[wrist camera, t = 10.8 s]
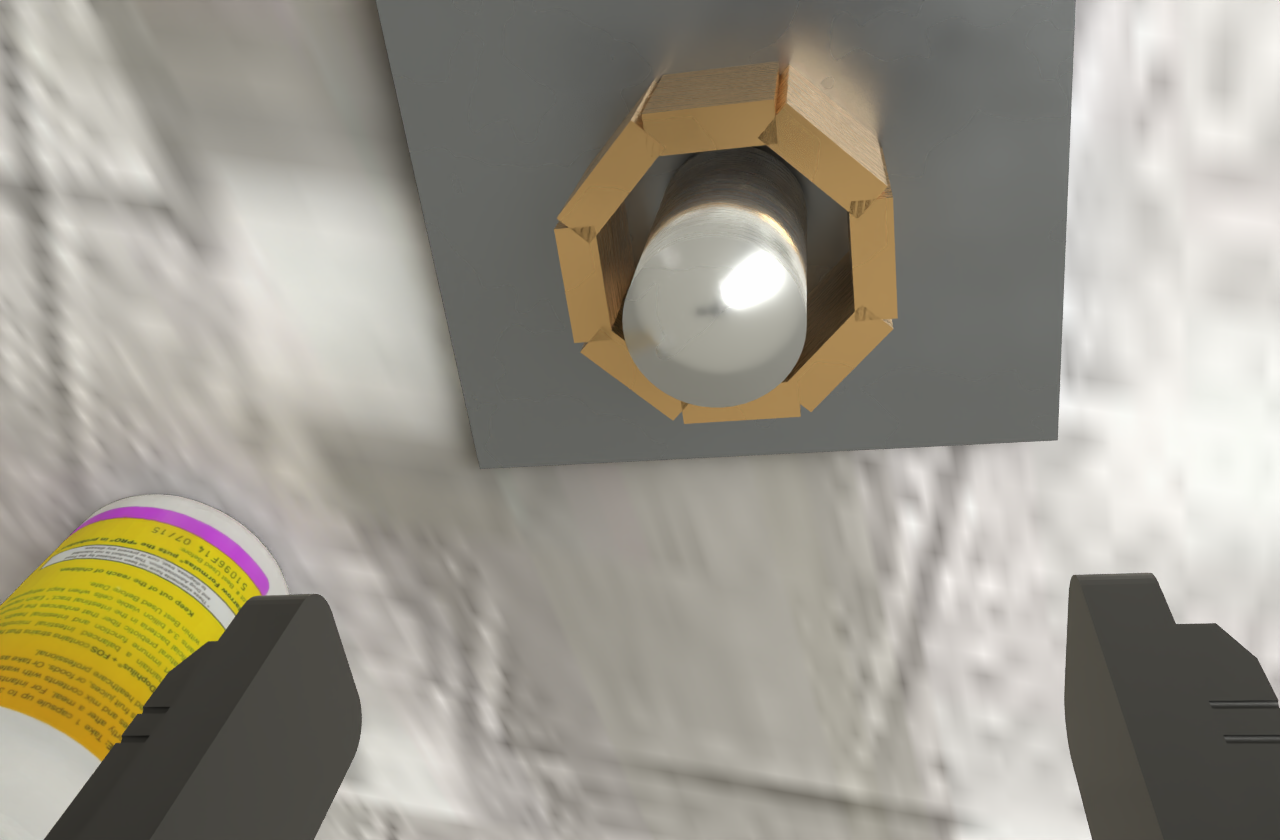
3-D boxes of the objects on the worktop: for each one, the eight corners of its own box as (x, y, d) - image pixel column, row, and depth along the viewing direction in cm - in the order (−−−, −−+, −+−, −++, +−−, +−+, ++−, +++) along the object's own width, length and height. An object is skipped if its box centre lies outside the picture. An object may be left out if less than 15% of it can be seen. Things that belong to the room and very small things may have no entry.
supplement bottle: (59, 474, 32) (-339, 827, 21) (284, 494, 32) (-4, 870, 21) (106, 659, 36) (-217, 1051, 24) (312, 680, 35) (76, 1094, 24)
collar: (877, 49, 23) (888, 86, 20) (890, 339, 26) (901, 410, 23) (570, 85, 24) (535, 125, 21) (614, 359, 27) (589, 429, 24)
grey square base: (1067, -130, 22) (1169, -106, 16) (1048, 416, 28) (1118, 595, 21) (387, -40, 25) (242, 11, 18) (491, 445, 30) (407, 614, 24)
